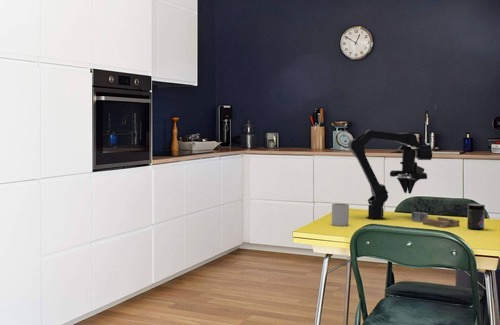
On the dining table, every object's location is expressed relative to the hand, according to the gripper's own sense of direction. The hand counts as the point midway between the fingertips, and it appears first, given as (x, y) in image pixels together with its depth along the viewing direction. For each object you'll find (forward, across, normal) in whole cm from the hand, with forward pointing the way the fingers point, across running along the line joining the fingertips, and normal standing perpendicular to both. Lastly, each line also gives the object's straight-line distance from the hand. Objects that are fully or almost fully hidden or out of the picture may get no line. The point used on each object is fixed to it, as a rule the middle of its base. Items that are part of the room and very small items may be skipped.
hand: (407, 193), depth 293 cm
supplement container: (+12, -35, -5) cm, 37 cm away
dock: (+12, -20, 0) cm, 23 cm away
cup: (+12, 0, +40) cm, 42 cm away
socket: (+12, -8, 0) cm, 15 cm away
